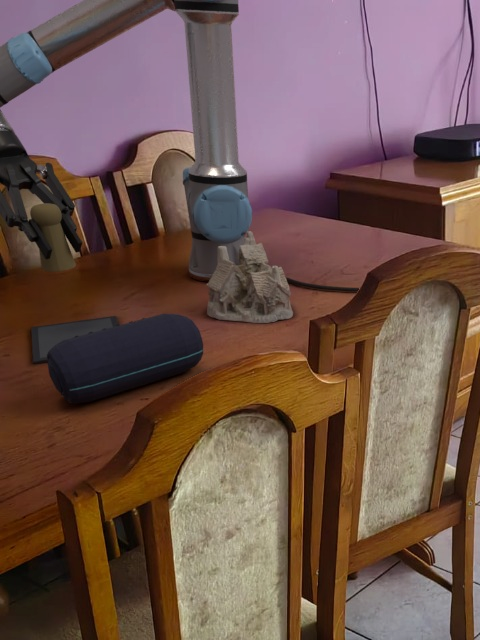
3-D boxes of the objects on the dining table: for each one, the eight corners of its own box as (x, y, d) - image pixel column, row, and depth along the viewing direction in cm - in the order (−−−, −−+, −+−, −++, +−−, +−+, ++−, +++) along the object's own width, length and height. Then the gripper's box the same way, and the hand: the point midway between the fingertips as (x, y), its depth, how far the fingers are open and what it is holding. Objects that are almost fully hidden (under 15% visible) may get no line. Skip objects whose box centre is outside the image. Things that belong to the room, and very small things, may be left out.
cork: (46, 263, 157) (31, 201, 151) (79, 261, 158) (65, 200, 152) (37, 272, 152) (21, 208, 146) (71, 270, 153) (56, 207, 147)
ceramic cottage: (202, 306, 172) (194, 231, 164) (279, 298, 178) (275, 225, 169) (219, 334, 161) (212, 255, 152) (301, 325, 166) (298, 248, 158)
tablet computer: (116, 318, 168) (115, 315, 168) (126, 350, 152) (126, 347, 152) (31, 329, 163) (31, 326, 163) (33, 364, 148) (32, 361, 147)
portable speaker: (183, 358, 149) (173, 302, 143) (213, 373, 143) (204, 315, 137) (46, 399, 135) (29, 339, 129) (73, 418, 128) (57, 355, 123)
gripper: (41, 151, 160) (105, 253, 160) (-56, 164, 149) (13, 274, 148) (47, 122, 154) (113, 228, 154) (-53, 134, 143) (18, 248, 143)
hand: (64, 250), depth 151 cm, fingers closed on cork, 5 cm apart
